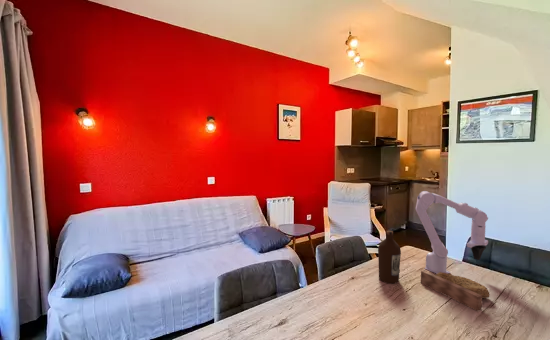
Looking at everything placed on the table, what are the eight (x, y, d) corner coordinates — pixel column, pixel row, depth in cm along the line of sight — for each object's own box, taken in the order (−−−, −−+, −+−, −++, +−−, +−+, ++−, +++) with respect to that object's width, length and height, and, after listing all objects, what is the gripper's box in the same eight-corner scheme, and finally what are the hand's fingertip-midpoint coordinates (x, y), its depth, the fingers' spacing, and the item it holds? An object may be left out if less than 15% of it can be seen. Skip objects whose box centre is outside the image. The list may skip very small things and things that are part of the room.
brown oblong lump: (432, 287, 130) (472, 299, 112) (432, 270, 132) (471, 280, 113) (452, 288, 134) (495, 301, 115) (452, 272, 135) (494, 282, 116)
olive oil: (373, 278, 137) (374, 230, 136) (385, 272, 143) (386, 227, 142) (392, 286, 128) (393, 235, 127) (404, 280, 134) (405, 232, 133)
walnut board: (420, 282, 132) (421, 271, 132) (424, 281, 133) (424, 270, 133) (477, 311, 108) (478, 297, 108) (481, 309, 109) (482, 295, 109)
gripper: (477, 237, 130) (476, 264, 131) (495, 233, 136) (494, 259, 137) (462, 233, 137) (461, 259, 138) (480, 230, 142) (479, 254, 143)
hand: (476, 259), depth 138 cm, fingers closed
